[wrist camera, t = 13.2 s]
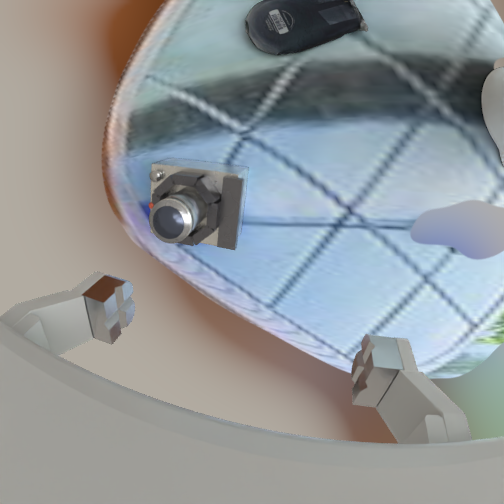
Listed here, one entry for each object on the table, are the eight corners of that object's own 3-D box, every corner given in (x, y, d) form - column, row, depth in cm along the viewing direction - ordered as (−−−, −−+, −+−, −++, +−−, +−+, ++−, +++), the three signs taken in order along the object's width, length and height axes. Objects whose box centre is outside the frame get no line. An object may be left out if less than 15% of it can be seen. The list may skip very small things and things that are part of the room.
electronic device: (332, -15, 29) (235, 13, 32) (342, -27, 24) (232, 1, 27) (359, 37, 33) (262, 66, 36) (372, 30, 28) (263, 61, 31)
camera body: (254, 168, 42) (239, 179, 34) (246, 233, 46) (230, 258, 38) (171, 157, 43) (141, 167, 35) (168, 219, 48) (141, 239, 40)
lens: (211, 190, 38) (191, 205, 31) (207, 227, 40) (187, 248, 34) (175, 183, 38) (148, 196, 32) (172, 219, 40) (147, 239, 34)
